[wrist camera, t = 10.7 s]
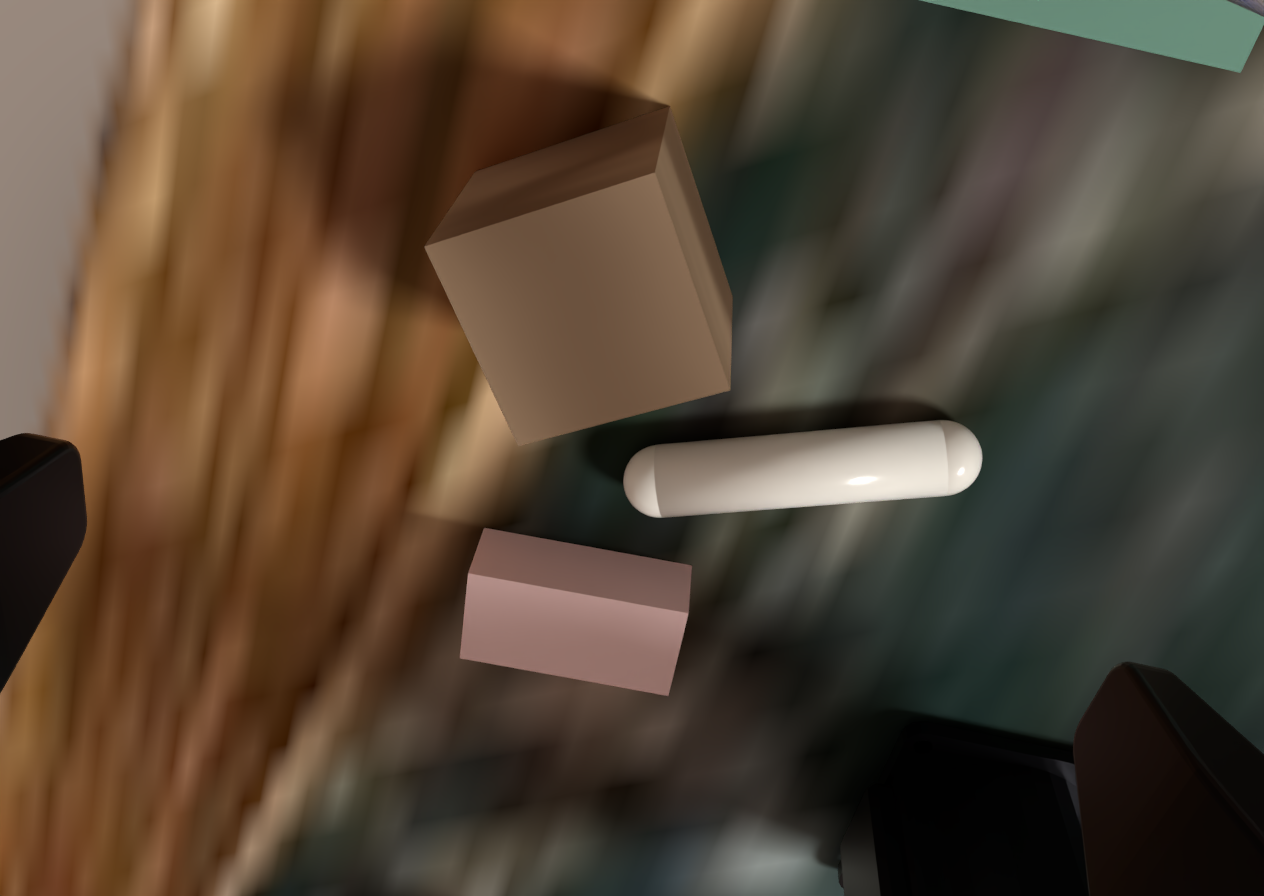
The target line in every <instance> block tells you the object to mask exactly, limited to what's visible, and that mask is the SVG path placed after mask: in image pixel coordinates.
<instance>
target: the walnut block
mask: <svg viewBox="0 0 1264 896" xmlns="http://www.w3.org/2000/svg"><path fill="white" fill-rule="evenodd" d="M424 248H425V250H426V252H427V254H428V256H429V258H430V260H431V262H432V265H433V267H434V269H435V271H436V273H437V275H438V277H439V279H440V282H441V284H442V286H443V288H444V290H445V292H446V294H447V296H448V298H449V301H450V303H451V305H452V307H453V309H454V311H455V313H456V315H457V318H458V320H459V322H460V324H461V326H462V328H463V330H464V332H465V335H466V337H467V339H468V341H469V343H470V345H471V347H472V349H473V351H474V354H475V356H476V358H477V360H478V362H479V364H480V366H481V368H482V371H483V373H484V375H485V377H486V379H487V381H488V383H489V385H490V388H491V390H492V392H493V394H494V396H495V398H496V400H497V402H498V405H499V407H500V409H501V411H502V413H503V415H504V417H505V419H506V421H507V424H508V426H509V428H510V430H511V432H512V434H513V436H514V438H515V441H516V443H517V445H518V446H520V445H524V444H528V443H532V442H535V441H539V440H543V439H547V438H551V437H554V436H558V435H562V434H566V433H570V432H573V431H577V430H581V429H585V428H589V427H592V426H596V425H600V424H604V423H607V422H611V421H615V420H619V419H623V418H626V417H630V416H634V415H638V414H642V413H645V412H649V411H653V410H657V409H661V408H664V407H668V406H672V405H676V404H680V403H683V402H687V401H691V400H695V399H699V398H702V397H706V396H710V395H714V394H718V393H721V392H725V391H729V390H730V383H731V342H732V300H733V296H732V293H731V290H730V287H729V284H728V281H727V278H726V275H725V272H724V269H723V266H722V263H721V260H720V257H719V254H718V251H717V248H716V245H715V242H714V239H713V236H712V232H711V229H710V226H709V223H708V220H707V217H706V214H705V211H704V208H703V205H702V202H701V199H700V196H699V193H698V190H697V187H696V184H695V181H694V178H693V175H692V172H691V169H690V166H689V162H688V159H687V156H686V153H685V150H684V147H683V144H682V141H681V138H680V135H679V132H678V129H677V126H676V123H675V120H674V117H673V114H672V111H671V108H670V106H668V107H665V108H662V109H660V110H657V111H654V112H651V113H648V114H645V115H642V116H639V117H636V118H633V119H630V120H627V121H624V122H621V123H618V124H615V125H612V126H609V127H606V128H603V129H600V130H597V131H594V132H591V133H588V134H585V135H582V136H579V137H576V138H573V139H571V140H568V141H565V142H562V143H559V144H556V145H553V146H550V147H547V148H544V149H541V150H538V151H535V152H532V153H529V154H526V155H523V156H520V157H517V158H514V159H511V160H508V161H505V162H502V163H499V164H496V165H493V166H490V167H487V168H485V169H482V170H479V171H476V172H474V174H473V175H472V177H471V178H470V180H469V181H468V183H467V184H466V186H465V187H464V188H463V190H462V191H461V193H460V194H459V196H458V197H457V199H456V200H455V202H454V203H453V205H452V206H451V208H450V209H449V211H448V212H447V214H446V215H445V217H444V218H443V219H442V221H441V222H440V224H439V225H438V227H437V228H436V230H435V231H434V233H433V234H432V236H431V237H430V239H429V240H428V242H427V243H426V245H425V246H424Z"/></svg>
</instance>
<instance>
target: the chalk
mask: <svg viewBox="0 0 1264 896" xmlns="http://www.w3.org/2000/svg"><path fill="white" fill-rule="evenodd" d="M981 465H982V450H981V447H980V444H979V442H978V440H977V438H976V437H975V435H974V434H973V433H972V432H971V431H970V430H969V429H968V428H966V427H965V426H963V425H961V424H959V423H957V422H954V421H949V420H933V421H921V422H910V423H898V424H887V425H876V426H864V427H853V428H841V429H830V430H818V431H807V432H796V433H784V434H773V435H761V436H750V437H739V438H727V439H716V440H704V441H693V442H682V443H670V444H659V445H653V446H649V447H646V448H644V449H642V450H640V451H639V452H637V453H636V454H635V455H634V456H633V457H632V458H631V460H630V461H629V463H628V464H627V467H626V469H625V472H624V478H623V484H624V490H625V493H626V496H627V498H628V499H629V501H630V503H631V504H632V505H633V506H634V507H635V508H636V509H637V510H638V511H640V512H641V513H643V514H646V515H648V516H651V517H656V518H664V517H677V516H690V515H704V514H717V513H730V512H743V511H756V510H769V509H782V508H795V507H808V506H821V505H834V504H847V503H860V502H873V501H886V500H899V499H912V498H925V497H938V496H948V495H954V494H956V493H959V492H961V491H963V490H964V489H966V488H968V487H969V486H970V485H971V484H972V483H973V482H974V481H975V479H976V478H977V476H978V474H979V472H980V469H981Z"/></svg>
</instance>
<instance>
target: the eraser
mask: <svg viewBox="0 0 1264 896" xmlns="http://www.w3.org/2000/svg"><path fill="white" fill-rule="evenodd" d="M691 572H692V565H687V564H681V563H676V562H670V561H665V560H659V559H654V558H648V557H643V556H637V555H632V554H626V553H621V552H615V551H610V550H604V549H599V548H593V547H588V546H582V545H577V544H571V543H566V542H560V541H554V540H549V539H543V538H538V537H532V536H527V535H521V534H516V533H510V532H505V531H499V530H494V529H488V528H484V529H483V532H482V535H481V538H480V541H479V544H478V546H477V549H476V552H475V555H474V558H473V561H472V564H471V566H470V569H469V572H468V579H467V589H466V600H465V610H464V620H463V630H462V640H461V651H460V658H461V659H467V660H472V661H478V662H483V663H489V664H494V665H500V666H505V667H511V668H516V669H522V670H527V671H533V672H539V673H544V674H550V675H555V676H561V677H566V678H572V679H577V680H583V681H588V682H594V683H599V684H605V685H610V686H616V687H621V688H627V689H632V690H638V691H643V692H649V693H654V694H660V695H665V696H668V695H669V691H670V687H671V683H672V679H673V675H674V671H675V667H676V663H677V659H678V655H679V651H680V646H681V642H682V638H683V634H684V630H685V626H686V622H687V618H688V614H689V601H690V586H691Z"/></svg>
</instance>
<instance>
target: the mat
mask: <svg viewBox="0 0 1264 896" xmlns="http://www.w3.org/2000/svg"><path fill="white" fill-rule="evenodd" d="M921 1H925V2H930V3H934V4H939V5H943V6H947V7H952V8H956V9H961V10H965V11H970V12H974V13H978V14H983V15H987V16H992V17H996V18H1001V19H1005V20H1009V21H1014V22H1018V23H1023V24H1027V25H1032V26H1036V27H1040V28H1045V29H1049V30H1054V31H1058V32H1063V33H1067V34H1071V35H1076V36H1080V37H1085V38H1089V39H1094V40H1098V41H1102V42H1107V43H1111V44H1116V45H1120V46H1124V47H1129V48H1133V49H1138V50H1142V51H1147V52H1151V53H1155V54H1160V55H1164V56H1169V57H1173V58H1178V59H1182V60H1186V61H1191V62H1195V63H1200V64H1204V65H1209V66H1213V67H1217V68H1222V69H1226V70H1231V71H1235V72H1240V73H1241V71H1242V68H1243V66H1244V64H1245V62H1246V60H1247V58H1248V56H1249V54H1250V52H1251V50H1252V48H1253V46H1254V44H1255V42H1256V40H1257V38H1258V36H1259V33H1260V31H1261V29H1262V27H1263V25H1264V17H1263V16H1261V15H1258V14H1256V13H1254V12H1252V11H1249V10H1247V9H1245V8H1243V7H1240V6H1238V5H1236V4H1234V3H1231V2H1229V1H1227V0H921Z"/></svg>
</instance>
